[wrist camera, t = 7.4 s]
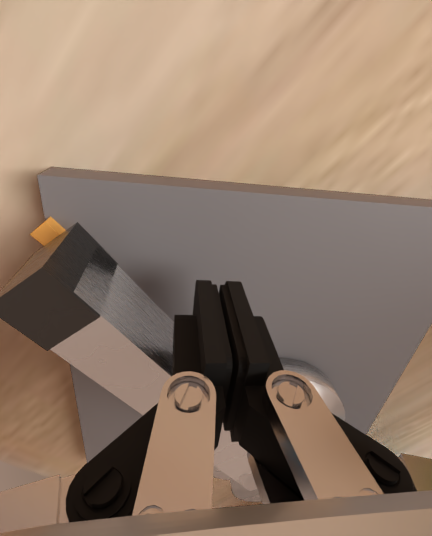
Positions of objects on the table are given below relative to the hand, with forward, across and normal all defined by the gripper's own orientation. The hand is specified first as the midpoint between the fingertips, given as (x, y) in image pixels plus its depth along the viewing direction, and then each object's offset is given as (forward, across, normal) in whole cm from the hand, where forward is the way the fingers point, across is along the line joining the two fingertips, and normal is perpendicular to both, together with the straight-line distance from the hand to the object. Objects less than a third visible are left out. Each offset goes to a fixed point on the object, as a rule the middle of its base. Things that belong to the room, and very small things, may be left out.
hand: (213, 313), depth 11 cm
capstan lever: (+3, -1, +6) cm, 7 cm away
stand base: (+4, -3, +6) cm, 8 cm away
